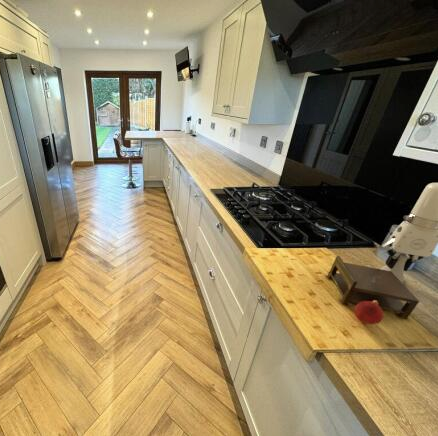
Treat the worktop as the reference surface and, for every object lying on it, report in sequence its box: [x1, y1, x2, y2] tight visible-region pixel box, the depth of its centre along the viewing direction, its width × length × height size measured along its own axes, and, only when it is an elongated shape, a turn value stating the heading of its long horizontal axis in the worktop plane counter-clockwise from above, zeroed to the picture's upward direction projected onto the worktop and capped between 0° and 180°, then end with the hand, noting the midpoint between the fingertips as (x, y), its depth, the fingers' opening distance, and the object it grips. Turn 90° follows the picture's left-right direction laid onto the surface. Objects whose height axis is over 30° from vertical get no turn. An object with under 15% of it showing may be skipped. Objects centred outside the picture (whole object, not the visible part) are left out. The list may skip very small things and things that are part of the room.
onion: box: [354, 300, 385, 325], centre depth 65 cm, size 6×6×8 cm
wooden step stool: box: [326, 255, 420, 320], centre depth 75 cm, size 16×14×9 cm
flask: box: [379, 253, 410, 284], centre depth 83 cm, size 7×7×10 cm
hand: (395, 267), depth 83 cm, fingers closed on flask, 3 cm apart
